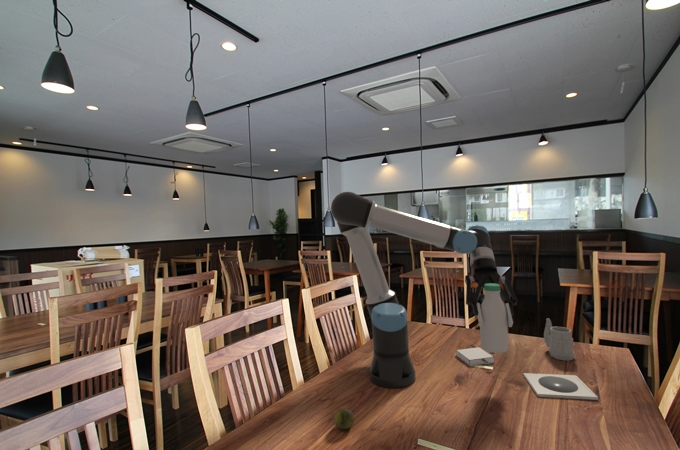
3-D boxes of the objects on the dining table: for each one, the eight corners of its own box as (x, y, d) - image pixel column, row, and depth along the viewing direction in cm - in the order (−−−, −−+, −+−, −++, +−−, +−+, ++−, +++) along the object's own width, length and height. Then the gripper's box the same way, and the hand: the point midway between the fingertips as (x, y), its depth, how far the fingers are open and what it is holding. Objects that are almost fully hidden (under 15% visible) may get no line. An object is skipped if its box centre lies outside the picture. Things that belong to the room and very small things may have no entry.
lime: (332, 427, 87) (331, 408, 87) (347, 420, 90) (346, 402, 90) (342, 436, 83) (341, 416, 83) (358, 428, 86) (357, 409, 86)
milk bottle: (513, 353, 100) (510, 286, 100) (487, 354, 101) (484, 287, 100) (501, 343, 108) (498, 281, 108) (476, 344, 108) (474, 282, 108)
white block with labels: (449, 350, 133) (449, 344, 133) (476, 347, 134) (475, 340, 134) (478, 373, 113) (477, 365, 113) (509, 369, 114) (509, 361, 114)
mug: (560, 362, 117) (559, 327, 117) (536, 349, 128) (534, 318, 128) (580, 359, 118) (578, 325, 118) (554, 347, 129) (553, 316, 129)
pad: (537, 396, 96) (537, 393, 96) (523, 375, 109) (523, 372, 109) (598, 400, 93) (597, 396, 93) (576, 377, 105) (576, 375, 105)
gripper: (513, 269, 117) (530, 331, 101) (451, 270, 121) (459, 329, 106) (517, 255, 111) (536, 319, 96) (452, 257, 116) (460, 317, 101)
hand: (495, 324), depth 101 cm, fingers closed on milk bottle, 8 cm apart
